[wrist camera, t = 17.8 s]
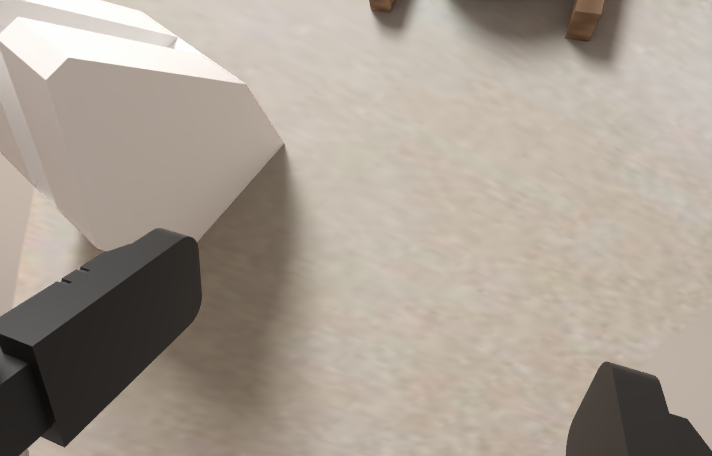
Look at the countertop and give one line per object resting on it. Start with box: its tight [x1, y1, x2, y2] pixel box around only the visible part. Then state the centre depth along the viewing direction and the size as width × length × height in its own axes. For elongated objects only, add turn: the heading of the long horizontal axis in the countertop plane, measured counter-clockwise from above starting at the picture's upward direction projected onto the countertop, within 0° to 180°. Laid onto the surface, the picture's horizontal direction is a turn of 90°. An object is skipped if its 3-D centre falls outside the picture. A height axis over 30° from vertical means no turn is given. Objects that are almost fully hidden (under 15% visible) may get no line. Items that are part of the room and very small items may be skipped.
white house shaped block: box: [0, 0, 284, 252], centre depth 43 cm, size 19×15×25 cm
